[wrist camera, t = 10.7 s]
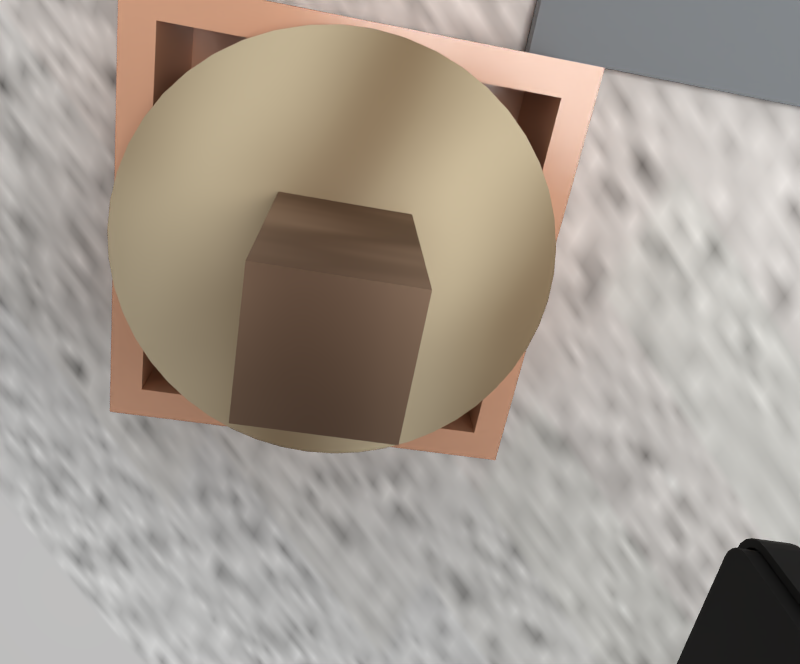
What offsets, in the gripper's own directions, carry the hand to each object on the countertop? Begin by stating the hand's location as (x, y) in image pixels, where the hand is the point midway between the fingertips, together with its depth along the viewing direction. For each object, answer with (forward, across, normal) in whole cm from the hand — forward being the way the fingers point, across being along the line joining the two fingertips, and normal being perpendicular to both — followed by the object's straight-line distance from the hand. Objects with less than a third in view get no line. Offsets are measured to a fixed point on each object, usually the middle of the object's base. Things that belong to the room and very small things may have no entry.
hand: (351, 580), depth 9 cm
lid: (+12, +1, -1) cm, 12 cm away
